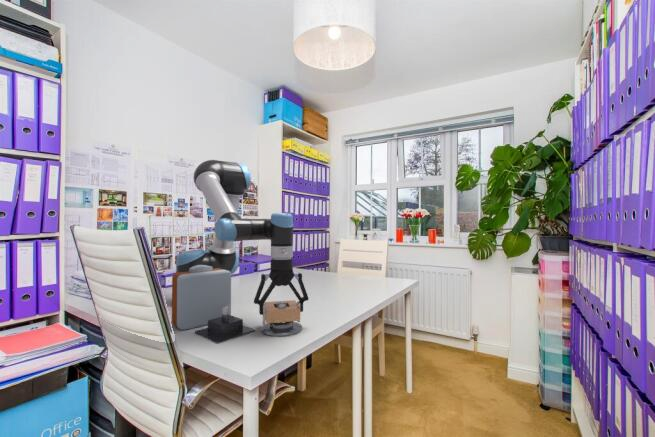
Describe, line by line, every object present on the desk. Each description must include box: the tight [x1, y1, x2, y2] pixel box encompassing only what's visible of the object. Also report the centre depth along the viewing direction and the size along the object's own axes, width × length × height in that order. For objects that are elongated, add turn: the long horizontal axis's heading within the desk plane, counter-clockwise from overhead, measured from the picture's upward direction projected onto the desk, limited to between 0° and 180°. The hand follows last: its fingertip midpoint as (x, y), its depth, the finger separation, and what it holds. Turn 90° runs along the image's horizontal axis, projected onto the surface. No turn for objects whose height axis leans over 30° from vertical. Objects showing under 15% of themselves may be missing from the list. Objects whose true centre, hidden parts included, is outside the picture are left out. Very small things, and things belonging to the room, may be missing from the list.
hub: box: [260, 300, 303, 338], centre depth 107 cm, size 14×14×9 cm
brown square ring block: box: [264, 299, 301, 324], centre depth 107 cm, size 11×11×4 cm
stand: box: [194, 305, 257, 344], centre depth 104 cm, size 14×14×8 cm
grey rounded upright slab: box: [171, 265, 232, 331], centre depth 113 cm, size 18×9×21 cm, turn 134°
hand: (281, 322), depth 107 cm, fingers closed on brown square ring block, 11 cm apart
